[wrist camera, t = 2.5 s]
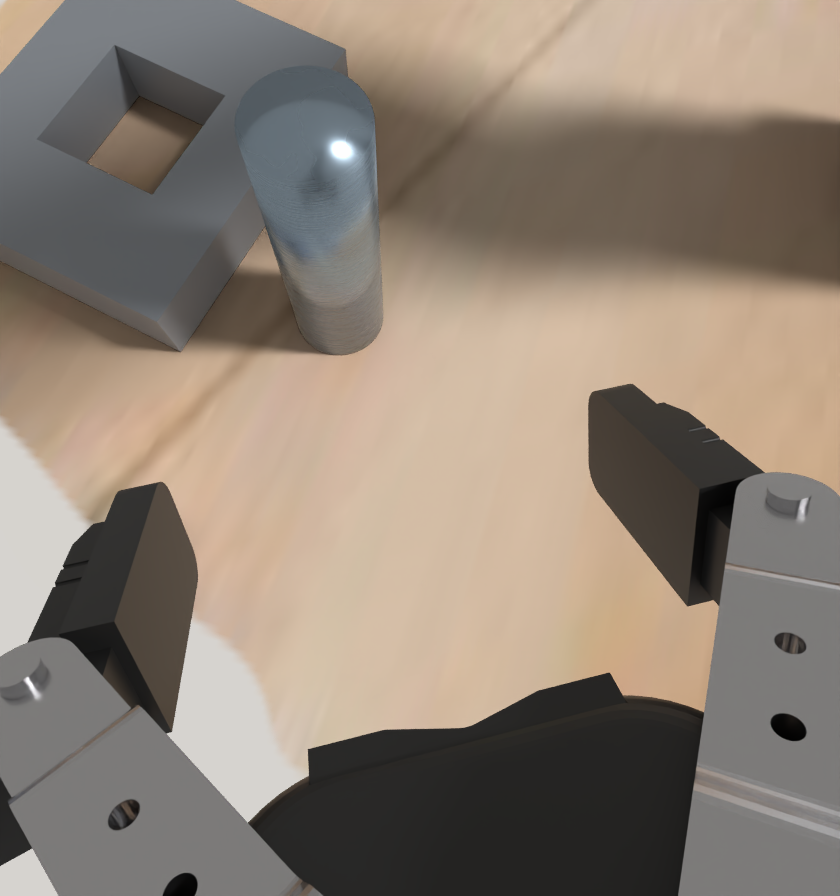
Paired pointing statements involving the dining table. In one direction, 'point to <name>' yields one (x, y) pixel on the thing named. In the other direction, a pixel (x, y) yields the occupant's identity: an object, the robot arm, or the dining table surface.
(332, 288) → the steel pin
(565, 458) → the dining table surface
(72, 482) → the dining table surface
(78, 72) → the socket stand
